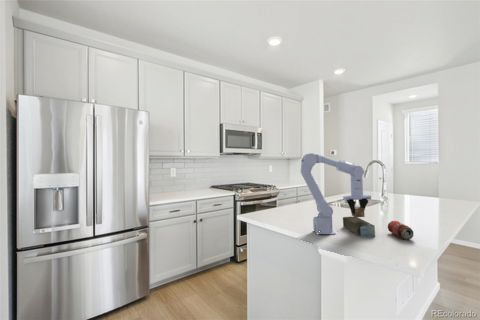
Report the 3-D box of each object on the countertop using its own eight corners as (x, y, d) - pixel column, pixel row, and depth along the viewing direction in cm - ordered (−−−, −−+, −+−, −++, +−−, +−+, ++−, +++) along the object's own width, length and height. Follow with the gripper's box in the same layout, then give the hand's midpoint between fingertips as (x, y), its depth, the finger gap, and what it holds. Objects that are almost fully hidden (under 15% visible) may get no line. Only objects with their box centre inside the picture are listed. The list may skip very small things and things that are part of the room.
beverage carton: (360, 237, 118) (359, 224, 118) (342, 227, 137) (342, 216, 137) (375, 237, 118) (375, 224, 118) (355, 226, 137) (355, 215, 137)
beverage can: (400, 241, 111) (399, 227, 111) (387, 233, 123) (387, 220, 123) (416, 241, 110) (416, 227, 110) (402, 233, 122) (401, 220, 122)
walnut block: (356, 217, 123) (356, 208, 123) (351, 215, 127) (351, 207, 127) (364, 216, 123) (364, 208, 123) (359, 215, 127) (359, 206, 127)
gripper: (347, 189, 121) (348, 215, 121) (374, 188, 122) (375, 214, 122) (340, 187, 128) (341, 212, 128) (366, 186, 129) (367, 211, 129)
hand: (357, 213), depth 125 cm, fingers closed on walnut block, 4 cm apart
